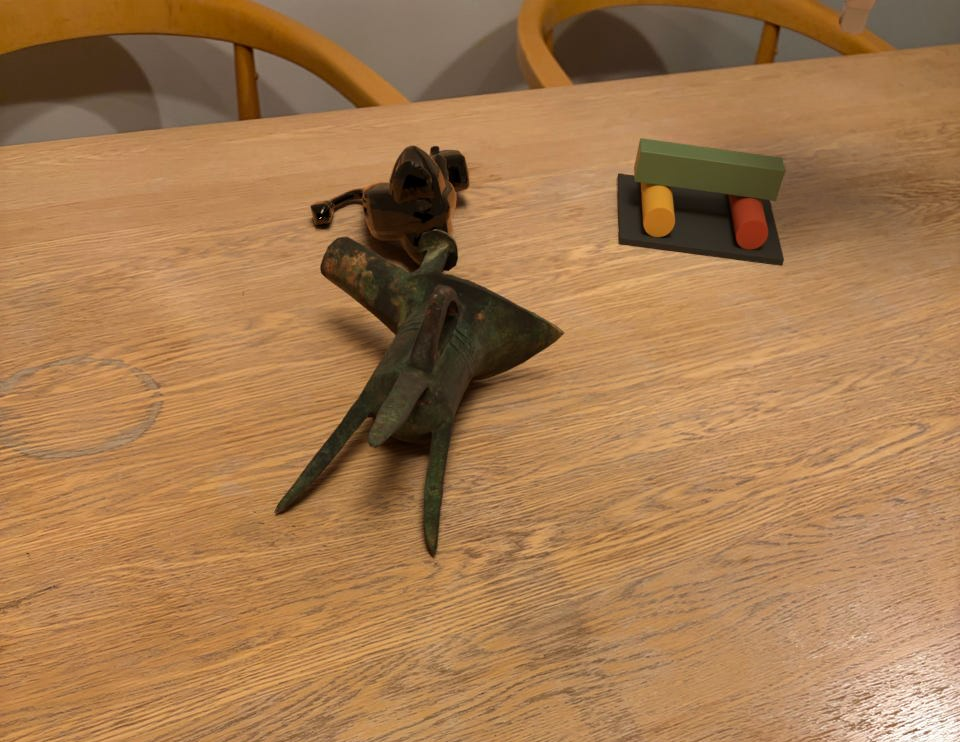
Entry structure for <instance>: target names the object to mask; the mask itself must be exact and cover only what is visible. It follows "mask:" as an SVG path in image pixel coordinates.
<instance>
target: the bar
mask: <svg viewBox="0 0 960 742" xmlns="http://www.w3.org/2000/svg"><path fill="white" fill-rule="evenodd" d="M785 174H786V166H785V163H784V159H783V157H782V156H774V155H766V154H758V153H751V152H745V151H739V150H738V151H736V150H730V149H722V148H717V147H708V146H702V145H694V144H686V143H681V142H680V143H679V142H672V141H665V140H657V139H650V138H643V137H642V138H641V137H640V138H639V142H638V146H637V152H636V156H635V161H634V166H633V175H634V181H635V182H640V183H647V184H655V185H662V186H669V187H677V188H684V189H691V190H699V191H706V192H713V193H721V194H728V195H735V196H743V197H750V198H757V199H765V200H770V201H773V202H776V201H777V200H778V197H779V194H780V190H781V188H782V184H783V181H784V178H785Z"/></svg>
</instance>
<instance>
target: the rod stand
mask: <svg viewBox="0 0 960 742" xmlns="http://www.w3.org/2000/svg"><path fill="white" fill-rule="evenodd" d="M617 181H618V182H617ZM617 183H618V184H617ZM617 185H618V192H617V224H618V225H617V227H618V226H619V227H618V229H619V232H618V244H619V243H620V245H626V244H629V245H628V246H633V245H638V246H637V247H641V246H645V247H644V248H648V249H649V248H650V249H656V250H657V249H658V250H665V251H671V250H674V251H673V252H678V251H682V252H681V253H686V252H688V253H687V254H693V253H695V254H694V255H701V254H702V255H701V256H708V255H711V256H710V257H716V256H718V257H717V258H723V257H724V258H725V259H731V258H733V260H739V259H743V260H742V261H746V260H749V261H748V262H754V261H758V262H757V263H761V262H764V263H763V264H769V263H772V264H771V265H776V264H779V265H778V266H783V264H784V262H785V258H784V257H785V256H784V254H783V249H782V245H781V240H780V236H779V233H778V228H777V223H776V219H775V216H774V210H773V207H772V202H771V200H765V199H757V198H750V197H743V196H735V195H728V194H721V193H713V192H706V191H699V190H691V189H684V188H677V187H669V186H662V185H655V184H647V183H640V182H635V181H634V174H626V173H620V172H619V173H617V177H616V186H617ZM726 257H727V258H726ZM724 258H723V259H724ZM765 262H766V263H765Z"/></svg>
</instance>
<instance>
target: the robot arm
mask: <svg viewBox="0 0 960 742" xmlns="http://www.w3.org/2000/svg"><path fill="white" fill-rule="evenodd" d="M876 3H877V0H844V2H843V5H842V8H841V14H840V15H839V18H838V25H839V28H840V30H841V32H843V34H851V35H860V34H861V33H863V32H864V31H865V28H866V25H867V23H868V19H869V16H870V13H871V10H872V9H873V7H874V6H875V4H876Z"/></svg>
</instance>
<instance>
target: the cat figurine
mask: <svg viewBox="0 0 960 742" xmlns="http://www.w3.org/2000/svg"><path fill="white" fill-rule="evenodd" d="M440 148H441V147H440V146H438V145H434V146H431V147H430V149H429V153H428V152H426V151H425V150H424V149H422V148H420V147H419V146H417V145H413V144H412V145H409V146H407V147H405V148H404V149H403V150H402V151H401V153H400V154H399V155H398V157H397V158H396V160H395V162H394V164H393V166H392V169H391V172H390V176H389V178H388V181H387V182H386V181H377V182H373V183H371V184H369V185H367V186H364V187H358V188H353V189H350V190H347V191H345V192H342V193H341V194H339V195H337V196H333V197H331V198H330V199H326V200H319V201H316V202H314V203H312V204H311V205H310V207H309V208H310V211H311V216H312V220H313V222H314V226H319V225H326V224H329V223H330V222H331V221H332V218H333V215H334V212H335V208H337V207H340V206H341V205H344V204H346V203H349V202H351V201H357V200H362V209H363V213H364V217H365V222H366V225H367V228H368V230H369V232H370V234H371V236H373V238H374V239H376V240H379V241H381V242H394V241H395V242H397V241H398V242H400V245H401V247H402V249H403V250H404V251H405V252H406V253H407V254H408V256H409V257H410V258H411V259H412V260H413V261H414V262H415V263H416V264H417V265H419V267H420V266H421V264H422V262H423V258H422V257H421V256H420V254H419V250H418V242H419V240H420V238H421V236H422V234H423V233H424V232H428V231H431V230H435V229H436V230H441V231H444V232H446V233H448V234H449V235H451V236H452V237H453V233H454V231H453V230H454V228H453V220H452V217H453V214H454V212H455V210H456V207H457V193H460V192H463V191H467V190H468V189H469V188H470V186H471V183H470V175H469V174H470V173H469V168H468V164H467V160H466V156H465V155H464V154H463V153H462V152H461V151H460V150H458V149H443V150H440ZM320 217H322V218H321V219H319V218H320Z"/></svg>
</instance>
